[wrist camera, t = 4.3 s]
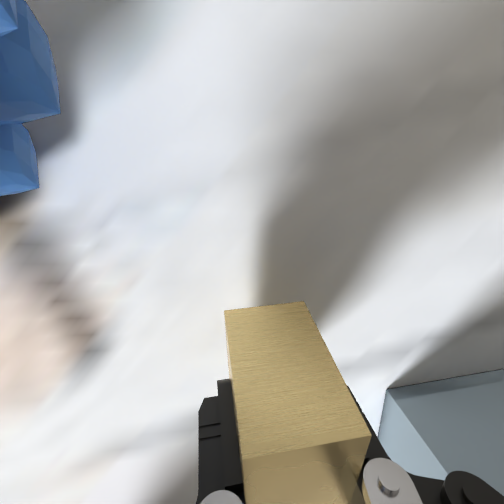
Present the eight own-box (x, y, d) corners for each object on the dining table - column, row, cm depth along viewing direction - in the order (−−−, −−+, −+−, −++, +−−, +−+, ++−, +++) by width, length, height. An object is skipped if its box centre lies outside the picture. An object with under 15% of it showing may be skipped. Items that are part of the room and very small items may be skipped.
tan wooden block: (224, 310, 11) (242, 459, 6) (303, 301, 11) (371, 435, 7) (232, 412, 14) (248, 562, 9) (295, 401, 14) (338, 541, 10)
